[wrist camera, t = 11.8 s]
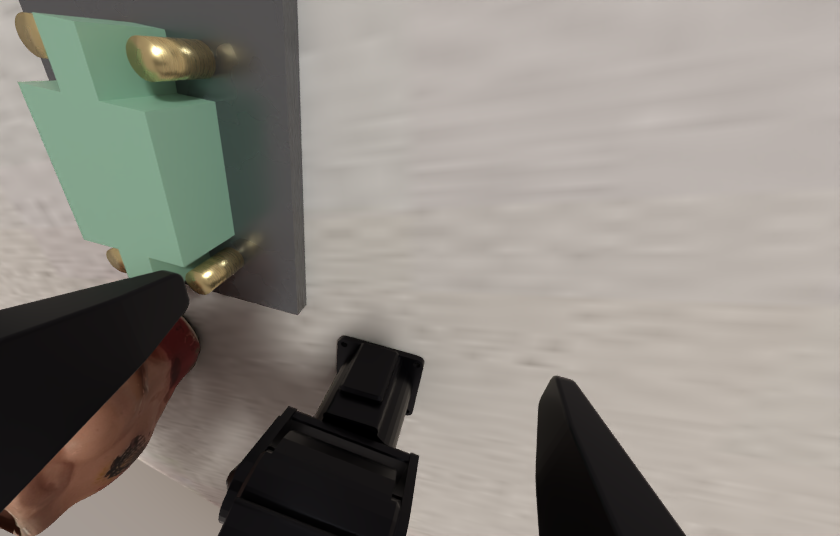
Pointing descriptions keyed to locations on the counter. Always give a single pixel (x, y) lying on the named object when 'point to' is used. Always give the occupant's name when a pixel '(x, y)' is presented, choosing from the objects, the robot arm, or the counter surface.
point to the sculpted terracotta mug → (105, 438)
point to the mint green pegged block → (129, 148)
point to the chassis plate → (226, 124)
